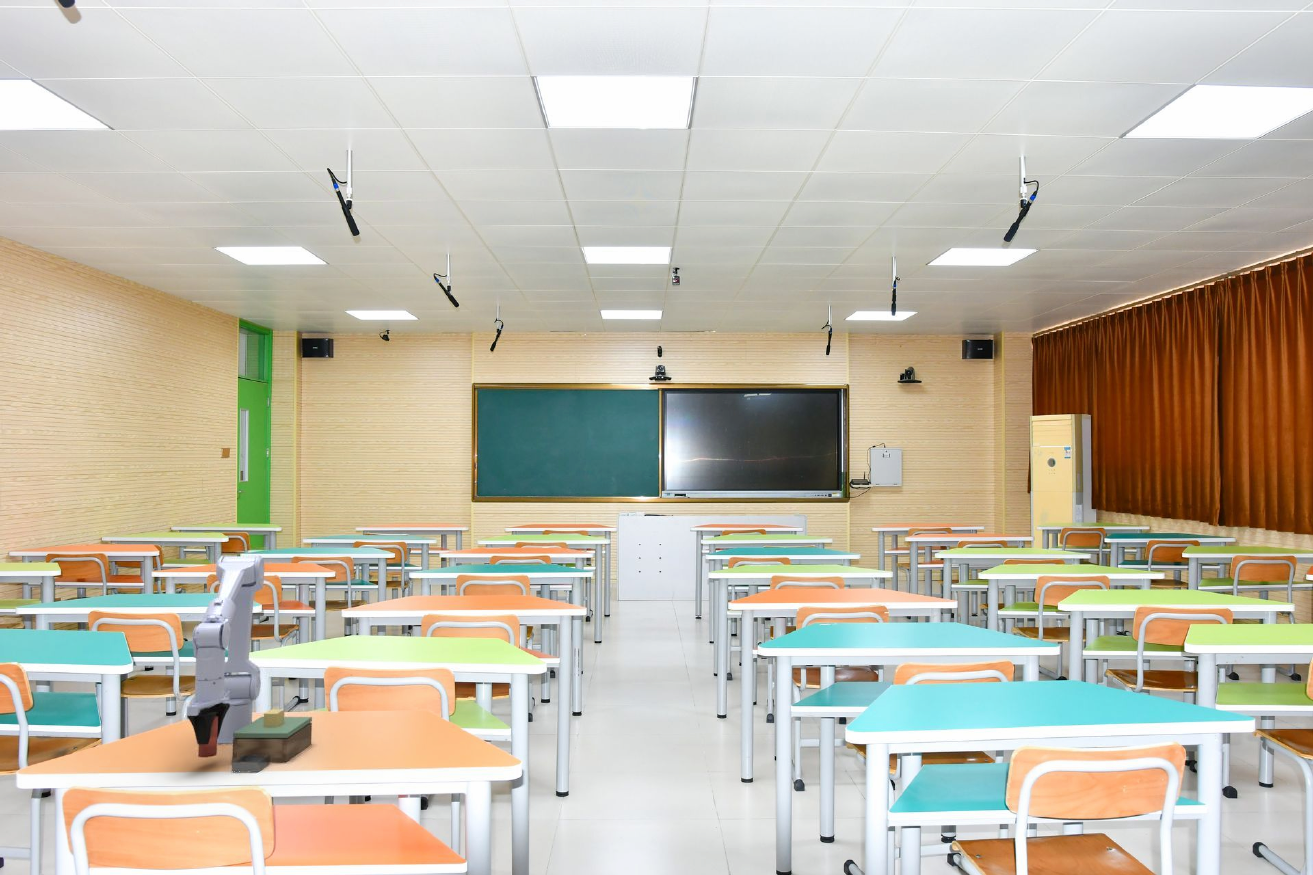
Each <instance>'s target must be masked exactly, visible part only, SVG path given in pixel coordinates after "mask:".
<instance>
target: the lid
mask: <svg viewBox="0 0 1313 875" xmlns="http://www.w3.org/2000/svg"><path fill="white" fill-rule="evenodd" d="M309 723H313V717H312V716H285V708H283V709H277V708H276V709H275V708H273V709H270V710H268V711H266V712H265V713H263V716H260V717H259V718H257V719H255V720H252V723H250V724H248V725H246V726H245V727H243V728H241V729H239V730H238V731H236V732H234V733H233V738H288V737H289V736H291V735H292V734H294V733H295V732H297V731H298V730H300V729H301V728H303V727H304V726H306V725H307V724H309Z"/></svg>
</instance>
